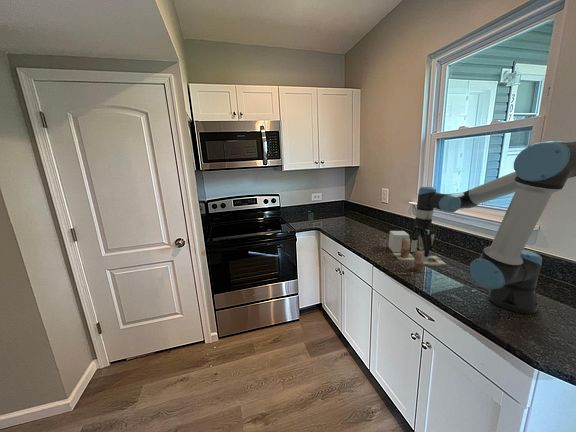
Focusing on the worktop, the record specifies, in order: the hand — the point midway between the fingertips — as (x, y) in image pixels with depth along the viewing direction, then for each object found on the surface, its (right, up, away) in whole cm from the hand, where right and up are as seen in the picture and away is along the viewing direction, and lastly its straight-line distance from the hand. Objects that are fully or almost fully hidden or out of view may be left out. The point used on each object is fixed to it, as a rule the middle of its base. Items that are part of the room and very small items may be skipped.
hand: (418, 256), depth 130 cm
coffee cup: (+19, -2, +28) cm, 34 cm away
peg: (0, -8, +2) cm, 8 cm away
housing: (+2, -2, +29) cm, 29 cm away
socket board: (+12, -6, +10) cm, 17 cm away
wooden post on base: (+1, -4, +18) cm, 18 cm away
